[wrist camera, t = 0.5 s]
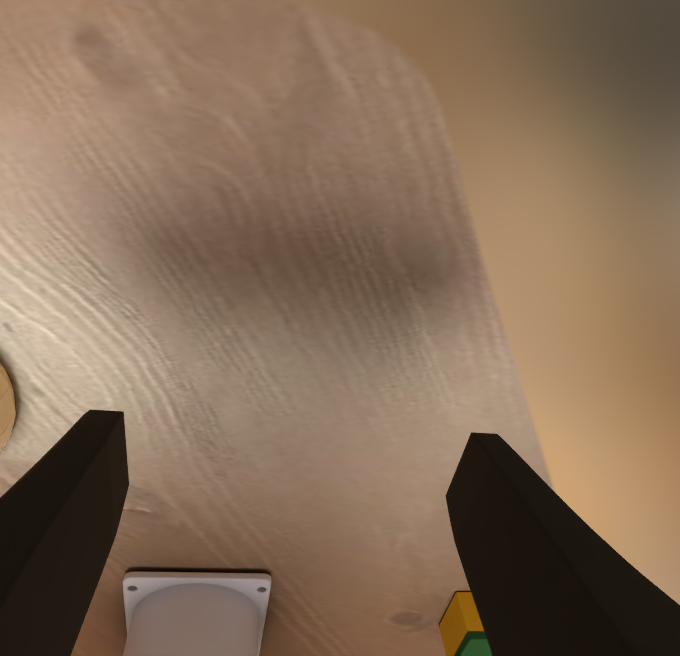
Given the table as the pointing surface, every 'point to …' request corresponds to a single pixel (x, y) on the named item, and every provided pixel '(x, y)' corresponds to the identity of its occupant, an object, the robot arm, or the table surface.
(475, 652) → the sponge
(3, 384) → the bowl
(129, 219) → the table surface
